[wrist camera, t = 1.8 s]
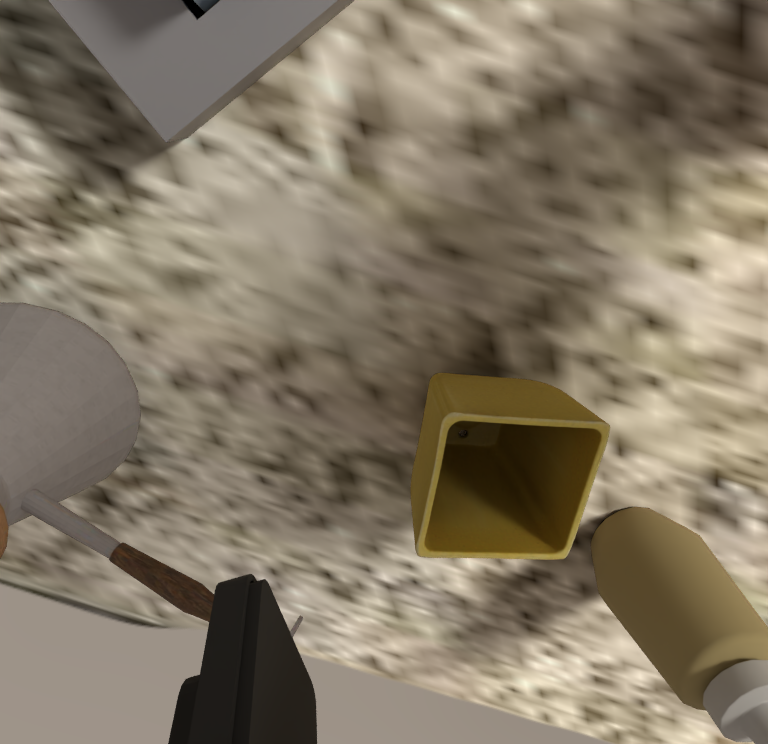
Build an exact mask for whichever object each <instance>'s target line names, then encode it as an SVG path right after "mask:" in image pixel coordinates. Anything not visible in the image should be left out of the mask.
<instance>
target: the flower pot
mask: <svg viewBox="0 0 768 744" xmlns="http://www.w3.org/2000/svg"><path fill="white" fill-rule="evenodd" d="M461 430H466V431H467V434H466V435H465V436H459V432H460V431H461ZM609 432H610V425H609V424H608V423H606V422H605V421H603V420H602V419H601V418H599V417H598V416H596V415H595V414H594V413H592V412H591V411H590V410H588V409H587V408H585V407H584V406H583V405H581V404H580V403H579V402H577V401H576V400H574V399H573V398H572V397H570V396H569V395H567V394H566V393H564V392H563V391H561V390H560V389H558V388H555V387H553V386H551V385H548V384H545V383H542V382H538V381H533V380H527V379H517V378H502V377H489V376H476V375H462V374H451V373H437V374H435V375H433V376H432V378H431V379H430V382H429V387H428V393H427V399H426V405H425V410H424V415H423V421H422V426H421V431H420V436H419V442H418V447H417V452H416V457H415V461H414V466H413V471H412V478H411V506H412V517H413V528H414V538H415V550H416V553H417V555H418V556H420V557H428V558H503V559H543V560H555V559H565V558H566V556H567V555H568V553H569V551H570V549H571V547H572V544H573V541H574V539H575V536H576V533H577V530H578V527H579V524H580V521H581V518H582V515H583V512H584V509H585V506H586V504H587V501H588V497H589V494H590V491H591V488H592V485H593V482H594V479H595V477H596V474H597V471H598V467H599V464H600V462H601V459H602V457H603V454H604V451H605V448H606V444H607V441H608V437H609Z"/></svg>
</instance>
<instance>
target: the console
mask: <svg viewBox="0 0 768 744" xmlns="http://www.w3.org/2000/svg"><path fill="white" fill-rule="evenodd" d="M48 1H49V2H50V3H51V4H52V5H53V7H54V8H55V9H56V10H57V12H58V13H59V14H60V15H61V16H62V18H63V19H64V20H65V21H66V22H67V24H68V25H69V26H70V27H71V28H72V30H73V31H74V32H75V33H76V34H77V36H78V37H79V38H80V39H81V41H82V42H83V43H84V44H85V45H86V47H87V48H88V49H89V50H90V51H91V53H92V54H93V55H94V56H95V57H96V59H97V60H98V61H99V62H100V64H101V65H102V66H103V67H104V68H105V70H106V71H107V72H108V73H109V74H110V76H111V77H112V78H113V79H114V80H115V82H116V83H117V84H118V85H119V86H120V88H121V89H122V90H123V91H124V93H125V94H126V95H127V96H128V97H129V99H130V100H131V101H132V102H133V103H134V105H135V106H136V107H137V108H138V109H139V111H140V112H141V113H142V114H143V115H144V117H145V118H146V119H147V120H148V122H149V123H150V124H151V125H152V126H153V128H154V129H155V130H156V131H157V132H158V134H159V135H160V136H161V137H162V138H163V140H164V141H165V142H170V141H175V140H179V139H184V138H188V137H189V136H190V135H191V134H193V133H194V132H195V131H196V130H197V129H199V128H200V127H201V126H202V125H204V124H205V123H206V122H207V121H208V120H210V119H211V118H212V117H213V116H214V115H216V114H217V113H218V112H219V111H221V110H222V109H223V108H224V107H225V106H227V105H228V104H229V103H230V102H231V101H233V100H234V99H235V98H236V97H238V96H239V95H240V94H241V93H242V92H244V91H245V90H246V89H247V88H249V87H250V86H251V85H252V84H253V83H255V82H256V81H257V80H258V79H259V78H261V77H262V76H263V75H264V74H266V73H267V72H268V71H269V70H270V69H272V68H273V67H274V66H275V65H276V64H278V63H279V62H280V61H281V60H283V59H284V58H285V57H286V56H287V55H289V54H290V53H291V52H292V51H294V50H295V49H296V48H297V47H298V46H300V45H301V44H302V43H303V42H304V41H306V40H307V39H308V38H309V37H311V36H312V35H313V34H314V33H315V32H317V31H318V30H319V29H320V28H321V27H323V26H324V25H325V24H326V23H328V22H329V21H330V20H331V19H332V18H334V17H335V16H336V15H337V14H339V13H340V12H341V11H342V10H343V9H345V8H346V7H347V6H348V5H349V4H351V3H352V2H353V1H354V0H220V1H219V2H218V3H217V4H215V5H214V6H213V7H212V8H211V9H210V10H208V11H207V12H206V13H205V14H204V15H203V16H201V17H200V18H199V19H198V20H197V19H196V17H195V16H194V14H193V13H192V12H191V10H190V9H189V8H188V6H187V5H186V4H185V2H184V1H183V0H48Z"/></svg>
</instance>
